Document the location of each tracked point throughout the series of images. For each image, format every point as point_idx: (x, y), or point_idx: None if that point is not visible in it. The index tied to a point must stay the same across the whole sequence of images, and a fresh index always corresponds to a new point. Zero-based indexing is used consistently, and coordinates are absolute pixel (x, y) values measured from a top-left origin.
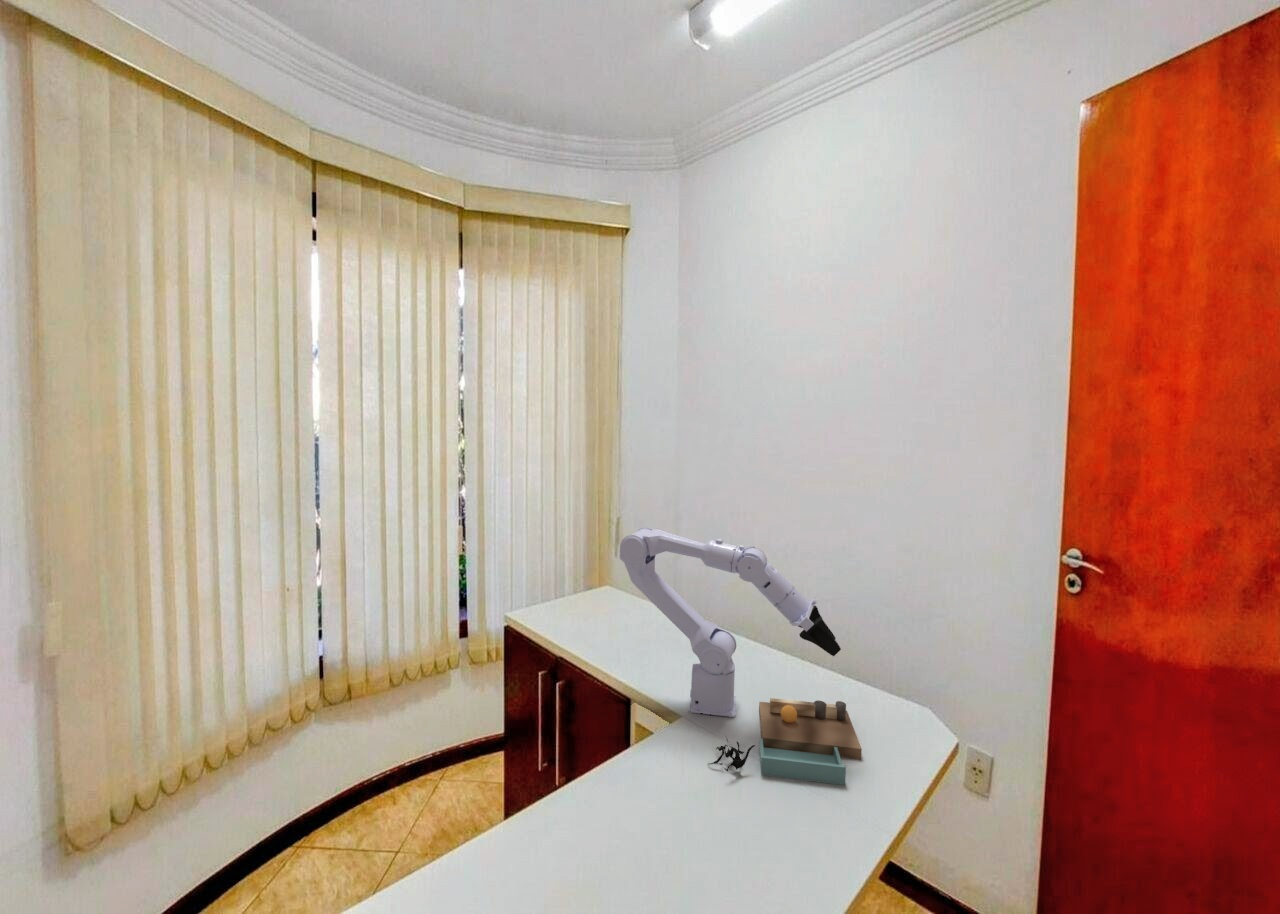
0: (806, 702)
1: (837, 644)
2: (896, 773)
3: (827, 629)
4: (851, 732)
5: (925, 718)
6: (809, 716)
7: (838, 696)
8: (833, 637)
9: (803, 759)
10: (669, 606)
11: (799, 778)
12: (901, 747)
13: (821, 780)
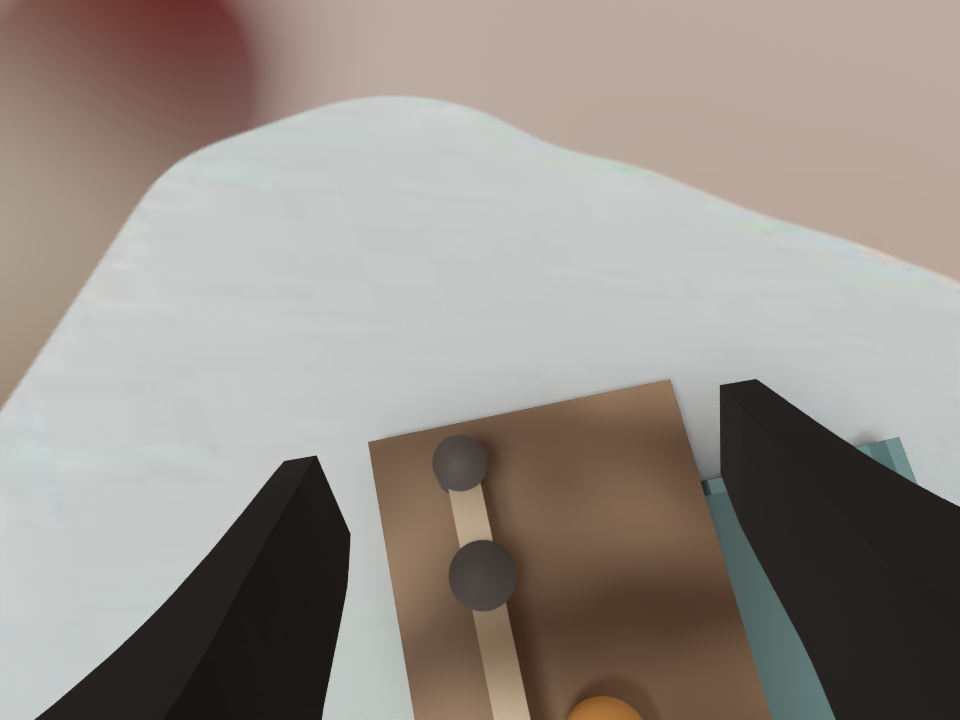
0: (491, 657)
1: (797, 408)
2: (684, 272)
3: (271, 558)
4: (559, 420)
5: (246, 141)
6: None
7: (158, 490)
8: (312, 481)
9: (791, 623)
10: None
11: None
12: (503, 243)
13: None
